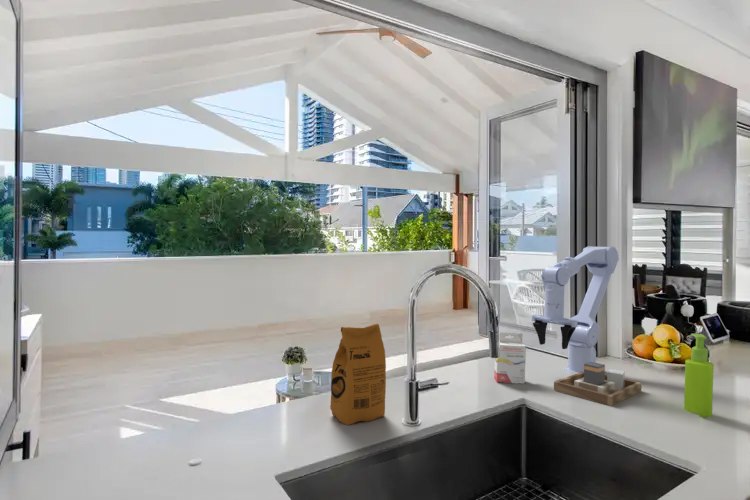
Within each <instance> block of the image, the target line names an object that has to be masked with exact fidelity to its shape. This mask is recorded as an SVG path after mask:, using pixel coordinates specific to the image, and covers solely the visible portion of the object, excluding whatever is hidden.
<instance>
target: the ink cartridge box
mask: <svg viewBox="0 0 750 500" xmlns="http://www.w3.org/2000/svg"><path fill="white" fill-rule="evenodd" d="M499 332H500V358H498V359H495V358H494V371H493V373H494V375H493V376H494V380H495V381H496V383H502V382H506V383H505V384H518V383H525V382H526V381H525V380H526V357H527V355H526V354H527V353H526V352H527V348H526V344H524V343H523V333H522V332H503V331H502V332H501V331H499ZM509 336H510V337H511V338H510V337H509ZM512 337H513V338H512Z"/></svg>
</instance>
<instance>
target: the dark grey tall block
mask: <svg viewBox="0 0 750 500" xmlns="http://www.w3.org/2000/svg"><path fill="white" fill-rule="evenodd" d="M605 372H606V364H604V363H598V362H596V363H594V362H588V363H585V364H584V382H587V383H591V384H595V385H599V386H601V385H603V384H604V379H605V375H606V373H605Z"/></svg>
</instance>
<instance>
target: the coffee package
mask: <svg viewBox="0 0 750 500" xmlns="http://www.w3.org/2000/svg"><path fill="white" fill-rule="evenodd" d="M340 333H341V336H342V337H341V338H340V341H339V345H338V348H337V351H336V353H335V355H334V358H333V361H332V367H331V368H332V369H331V377H330V378H331V381H330V382H331V384H330V405H329V408H330V411H331V415H332V416H333V417H335V418H336V419H337V420H338V422H340V423H341V424H343V425H346V426H349V425H352V424H356V423H357V422H372V421H375V420H377V419H378V418H382V417H384V416H385V415H386V411H385V410H386V389H387V387H386V385H387V382H386V381H387V380H386V379H387V372H386V369H387V364H386V363H387V362H386V361H387V360H386V350H385V347H384V346H385V344H384V342H383V338H382V336H383V335H382V332H381V327H380V325H379V323H374V324H370V325H368V326H365V327H351V326H341V327H340Z"/></svg>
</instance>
